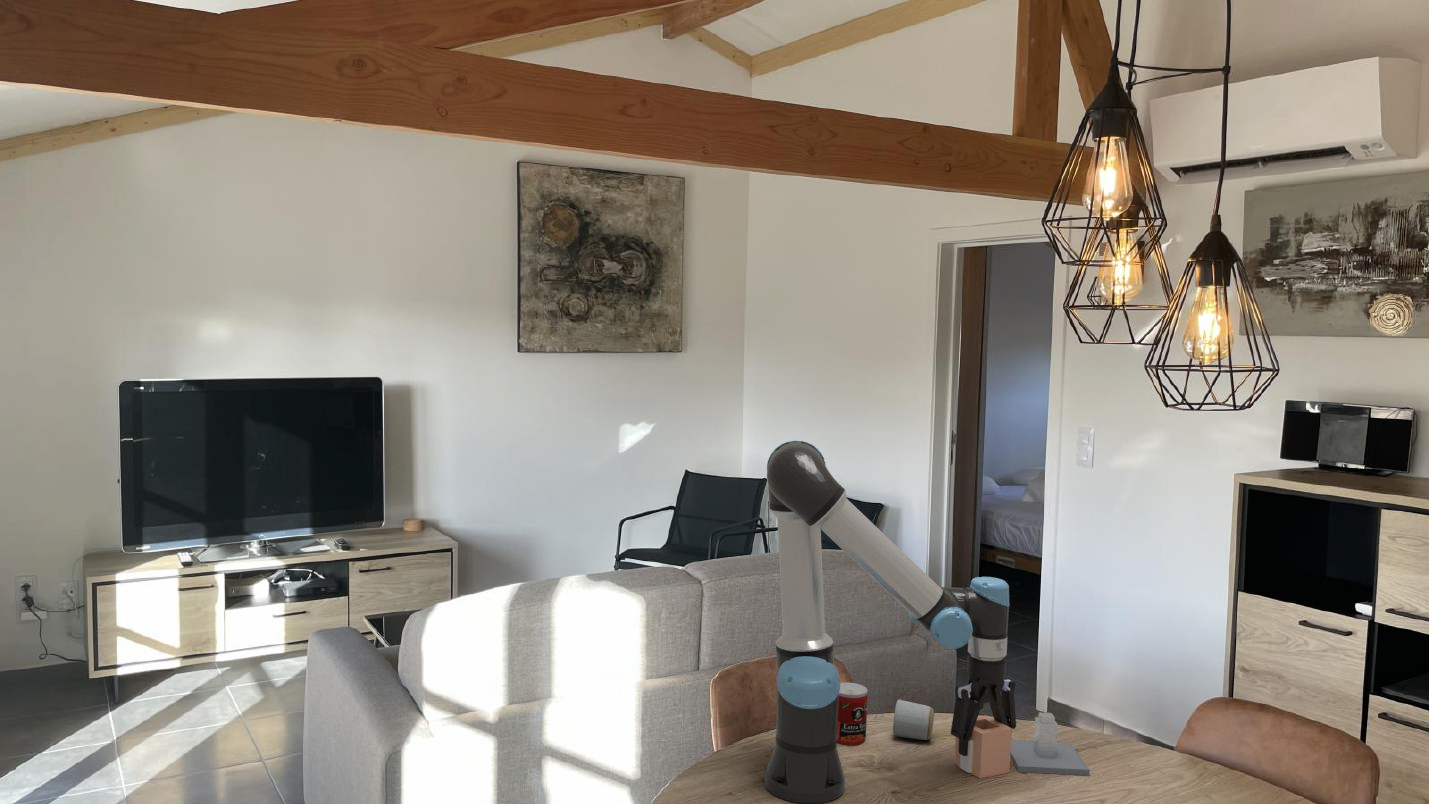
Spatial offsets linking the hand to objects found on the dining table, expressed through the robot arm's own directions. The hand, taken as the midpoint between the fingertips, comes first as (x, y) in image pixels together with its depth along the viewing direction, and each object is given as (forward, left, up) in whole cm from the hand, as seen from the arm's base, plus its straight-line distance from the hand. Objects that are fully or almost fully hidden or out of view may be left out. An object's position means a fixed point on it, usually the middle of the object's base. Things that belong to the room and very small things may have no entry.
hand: (982, 766), depth 208 cm
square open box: (0, 0, 0) cm, 0 cm away
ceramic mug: (-12, +16, -1) cm, 20 cm away
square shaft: (+14, +6, +1) cm, 15 cm away
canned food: (-26, +12, 0) cm, 29 cm away
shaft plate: (+14, +6, 0) cm, 15 cm away
